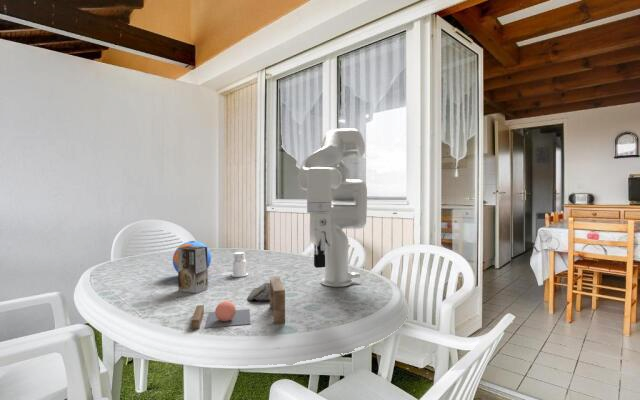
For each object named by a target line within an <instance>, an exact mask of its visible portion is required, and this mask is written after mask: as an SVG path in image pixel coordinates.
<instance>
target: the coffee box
mask: <svg viewBox="0 0 640 400" xmlns="http://www.w3.org/2000/svg"><path fill="white" fill-rule="evenodd" d="M177 248H178V247H177ZM207 248H208V246H206V247H201V246H185V247H182V248H178V272H177V276H178V277H177V281H178V284H177V285H178V292H186V293H192V294H198V293H201V292H204V291H207V290H208V289H209V286H208V285H209V281H208V280H209V279H208V278H209V277H208V276H209V275H208V274H209V273H208V269H209V267H208V268H207Z"/></svg>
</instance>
